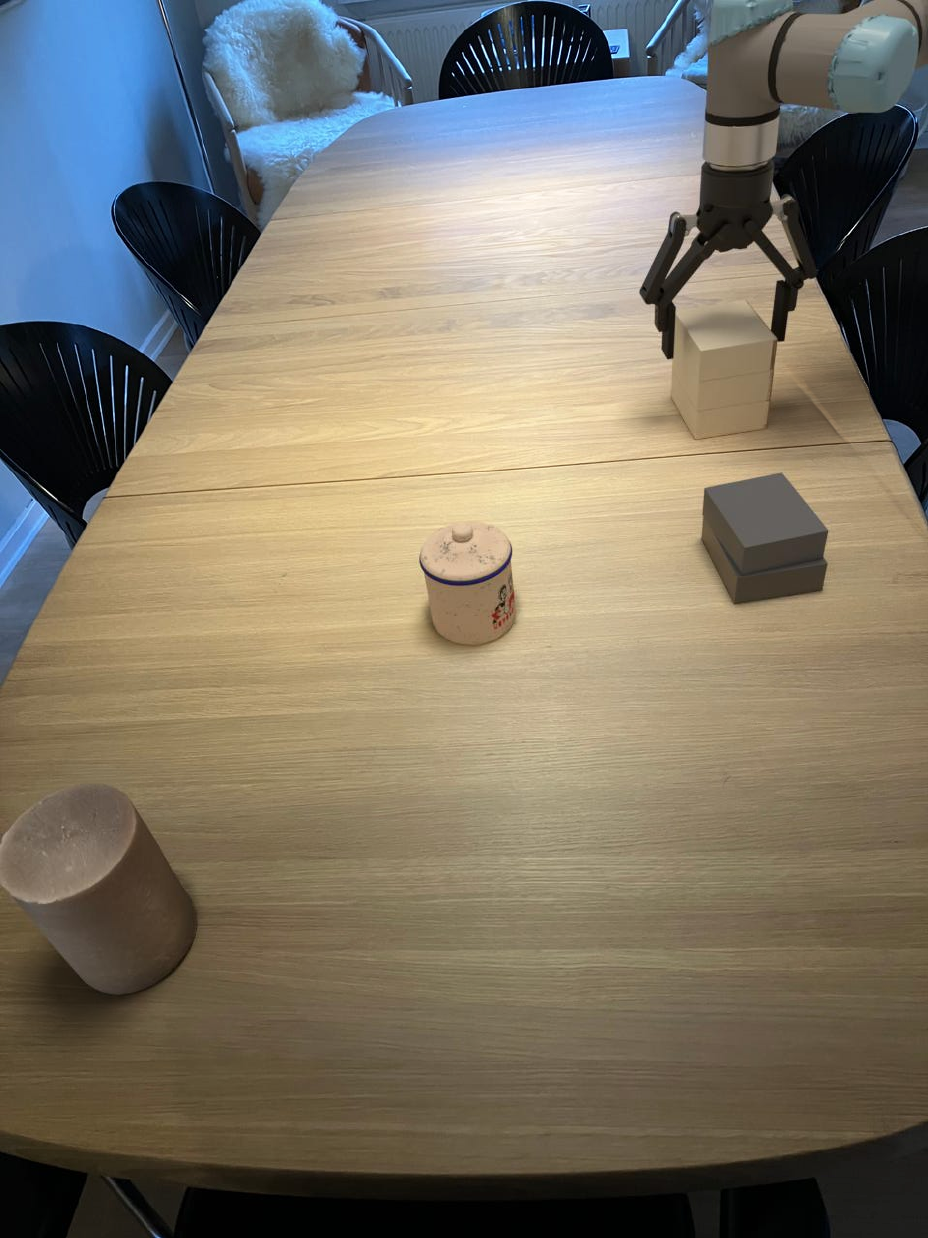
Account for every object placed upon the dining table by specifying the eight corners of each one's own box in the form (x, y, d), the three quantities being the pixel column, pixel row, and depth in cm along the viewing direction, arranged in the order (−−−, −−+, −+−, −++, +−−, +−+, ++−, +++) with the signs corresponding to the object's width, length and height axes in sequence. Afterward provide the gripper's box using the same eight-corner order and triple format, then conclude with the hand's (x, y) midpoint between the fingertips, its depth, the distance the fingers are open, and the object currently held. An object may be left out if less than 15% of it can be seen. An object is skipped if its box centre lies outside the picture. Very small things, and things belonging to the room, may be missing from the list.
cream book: (743, 329, 117) (746, 299, 115) (774, 370, 109) (778, 338, 106) (672, 340, 117) (673, 310, 115) (698, 382, 109) (700, 350, 106)
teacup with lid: (514, 649, 91) (504, 558, 83) (424, 647, 93) (406, 558, 85) (524, 570, 100) (516, 481, 92) (442, 570, 101) (427, 482, 94)
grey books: (781, 524, 101) (790, 470, 96) (822, 590, 92) (833, 535, 88) (698, 537, 101) (702, 484, 96) (731, 604, 92) (737, 550, 88)
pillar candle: (200, 871, 76) (137, 758, 66) (193, 983, 69) (121, 875, 59) (83, 895, 76) (2, 784, 66) (64, 1010, 69) (-31, 905, 59)
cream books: (737, 385, 123) (743, 329, 117) (767, 428, 115) (774, 369, 109) (670, 396, 123) (673, 340, 117) (694, 439, 115) (698, 381, 109)
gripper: (838, 131, 101) (811, 316, 115) (614, 166, 101) (614, 347, 115) (868, 151, 95) (835, 343, 110) (630, 189, 95) (628, 375, 110)
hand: (722, 345), depth 112 cm, fingers open, 13 cm apart
